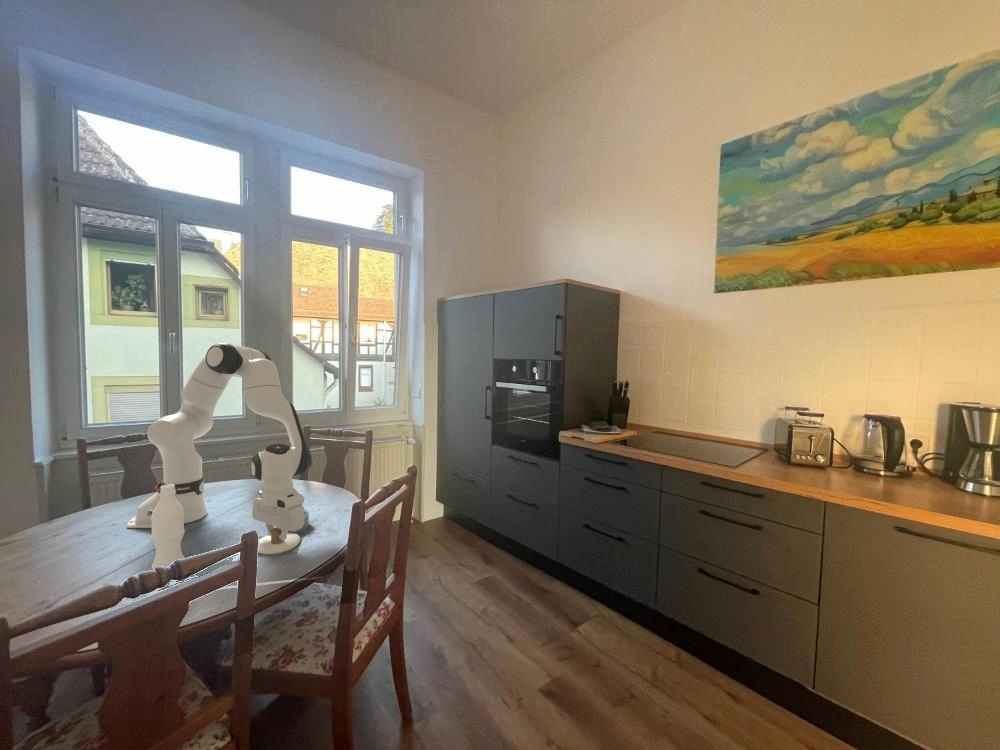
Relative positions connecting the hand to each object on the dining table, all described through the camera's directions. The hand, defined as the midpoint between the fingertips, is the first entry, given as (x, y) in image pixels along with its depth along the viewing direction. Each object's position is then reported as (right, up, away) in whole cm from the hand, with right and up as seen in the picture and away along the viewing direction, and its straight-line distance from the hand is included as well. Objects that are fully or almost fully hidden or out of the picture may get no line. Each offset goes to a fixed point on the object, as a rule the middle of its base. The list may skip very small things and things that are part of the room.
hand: (277, 537), depth 129 cm
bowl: (-2, -2, +13) cm, 13 cm away
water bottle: (-21, -3, -17) cm, 27 cm away
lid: (0, -2, 0) cm, 2 cm away
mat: (0, -3, 0) cm, 3 cm away
